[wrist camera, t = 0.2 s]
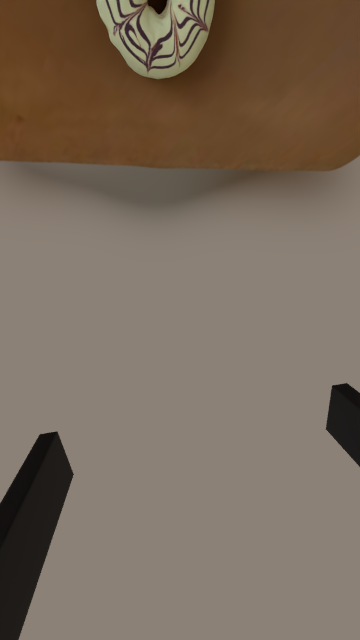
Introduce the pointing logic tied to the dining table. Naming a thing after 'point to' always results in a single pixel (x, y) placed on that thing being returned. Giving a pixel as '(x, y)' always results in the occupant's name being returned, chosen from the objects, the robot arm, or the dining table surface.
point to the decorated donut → (157, 33)
